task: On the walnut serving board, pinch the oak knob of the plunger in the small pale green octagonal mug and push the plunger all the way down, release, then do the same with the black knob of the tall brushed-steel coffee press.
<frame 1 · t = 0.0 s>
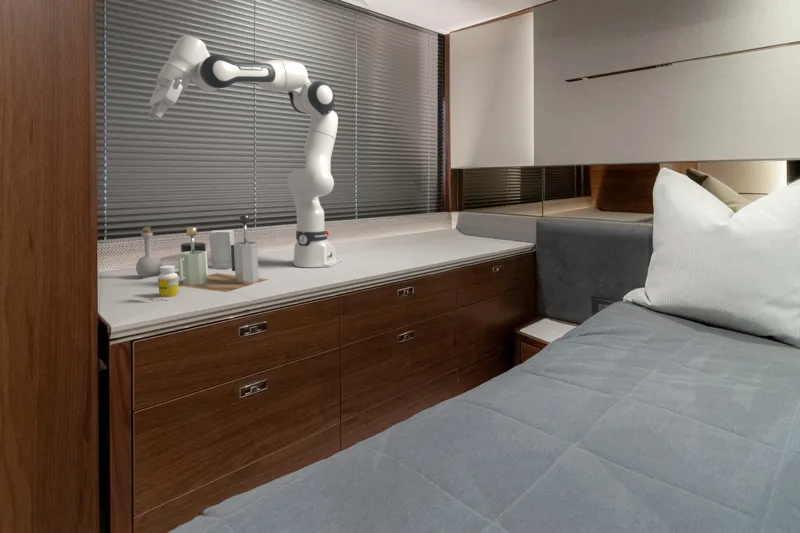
hand: (154, 117, 160), 54 cm above the cabinet, tool tilted 30°, fingers open, 8 cm apart
steel plunger: (245, 232, 164), point 18 cm above the cabinet, slide at 0.0 cm
steel press: (247, 281, 167), resting on serving board
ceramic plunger: (192, 243, 161), point 14 cm above the cabinet, slide at 0.0 cm
potion bottle: (150, 277, 177), on the cabinet
skincare box: (224, 268, 196), on the cabinet
serving board: (221, 285, 165), on the cabinet
pale green octagonal mug: (195, 282, 164), resting on serving board
supplement bottle: (169, 299, 147), on the cabinet
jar: (195, 277, 178), on the cabinet
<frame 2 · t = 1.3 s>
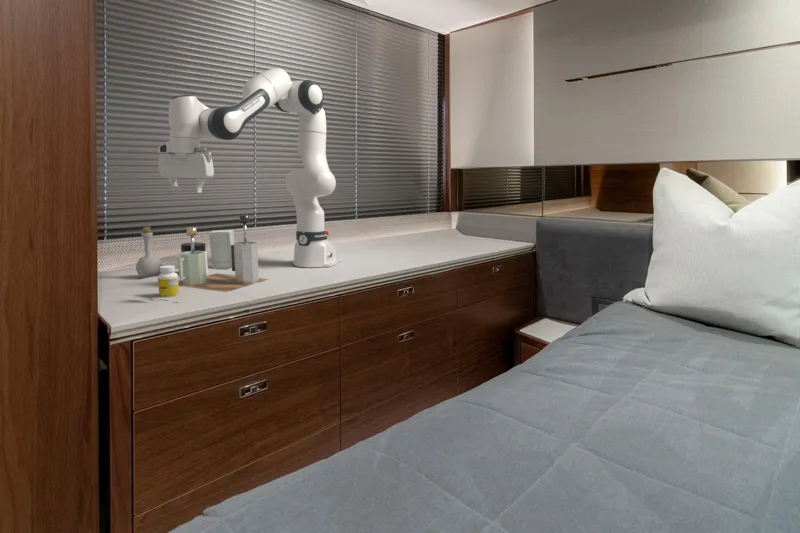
hand: (187, 192, 158), 31 cm above the cabinet, tool pointing down, fingers open, 8 cm apart
nothing on the cabinet moved.
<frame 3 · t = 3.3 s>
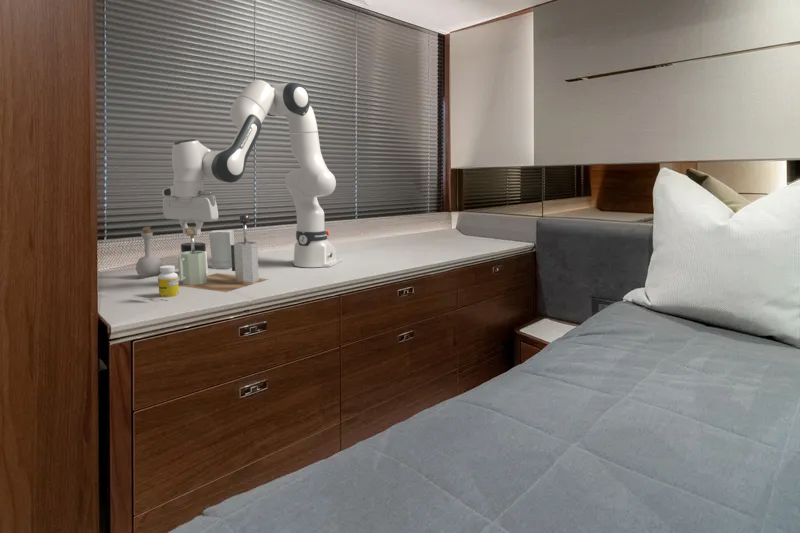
hand: (192, 234, 161), 17 cm above the cabinet, tool pointing down, fingers closed on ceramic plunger, 3 cm apart
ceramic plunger: (192, 243, 161), point 14 cm above the cabinet, slide at 0.0 cm, touching gripper
everything else where it was.
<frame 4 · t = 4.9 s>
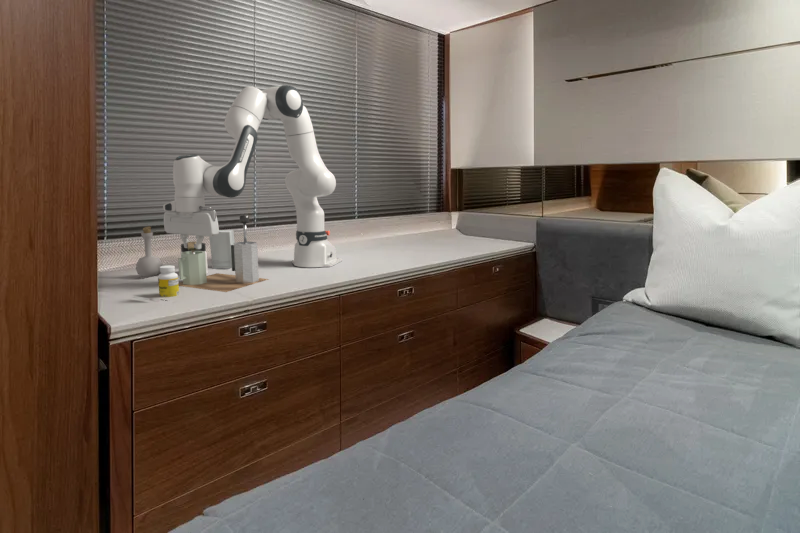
hand: (192, 248, 162), 13 cm above the cabinet, tool pointing down, fingers closed on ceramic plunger, 3 cm apart
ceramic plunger: (193, 257, 162), point 10 cm above the cabinet, slide at 4.7 cm, touching gripper
everything else where it was.
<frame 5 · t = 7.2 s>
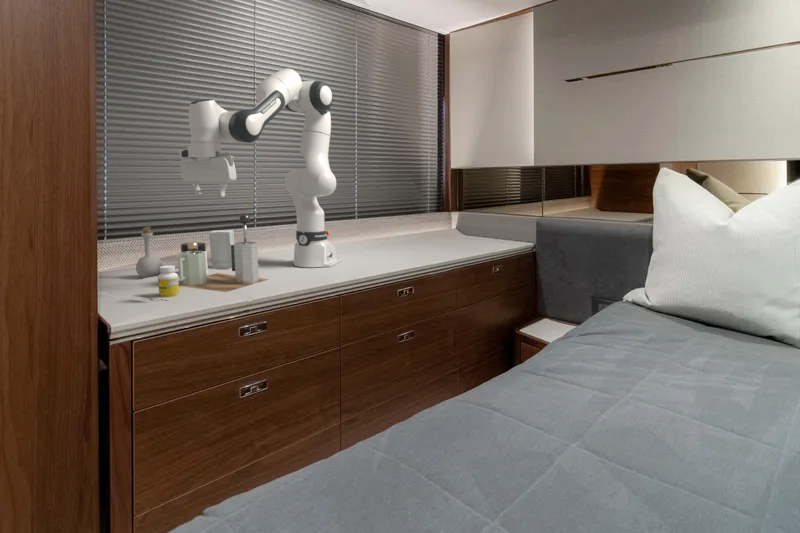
hand: (210, 196, 160), 30 cm above the cabinet, tool pointing down, fingers open, 8 cm apart
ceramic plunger: (193, 257, 162), point 10 cm above the cabinet, slide at 4.8 cm
everything else where it was.
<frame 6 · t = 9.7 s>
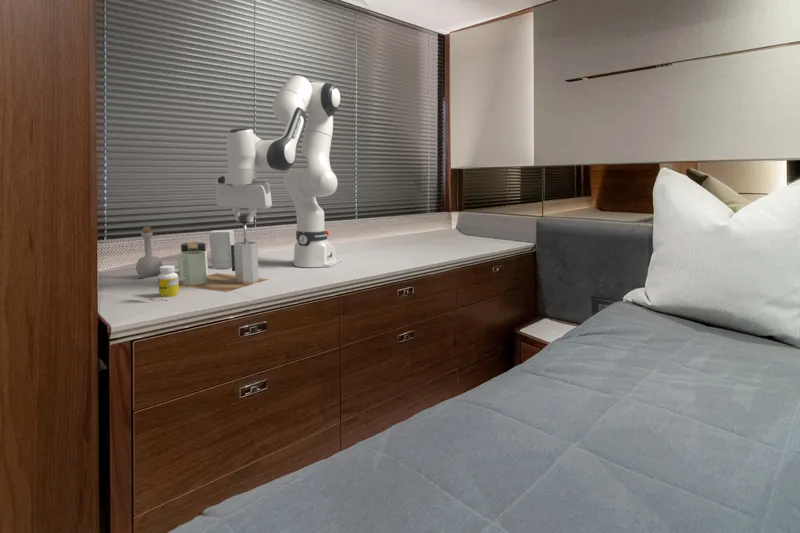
hand: (244, 221, 163), 21 cm above the cabinet, tool pointing down, fingers closed on steel plunger, 3 cm apart
steel plunger: (245, 232, 164), point 18 cm above the cabinet, slide at 0.0 cm, touching gripper
everything else where it was.
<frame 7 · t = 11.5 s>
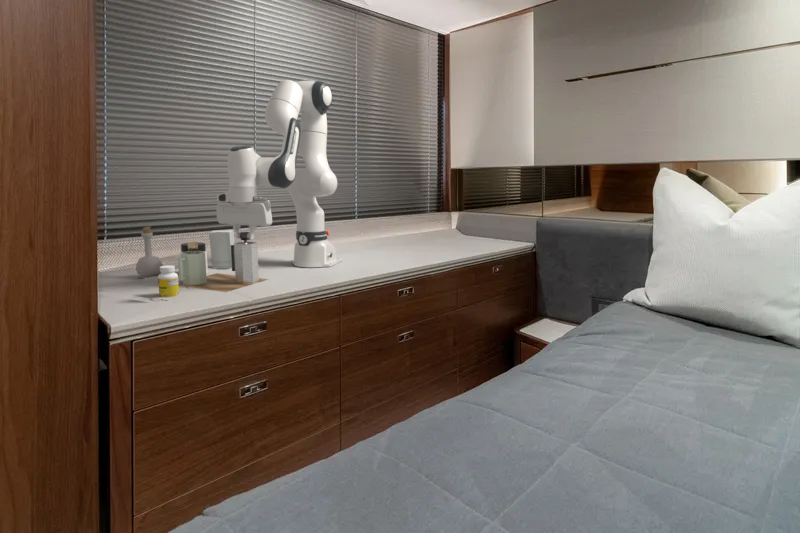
hand: (245, 238, 164), 16 cm above the cabinet, tool pointing down, fingers closed on steel plunger, 3 cm apart
steel plunger: (245, 248, 165), point 12 cm above the cabinet, slide at 5.6 cm, touching gripper
everything else where it was.
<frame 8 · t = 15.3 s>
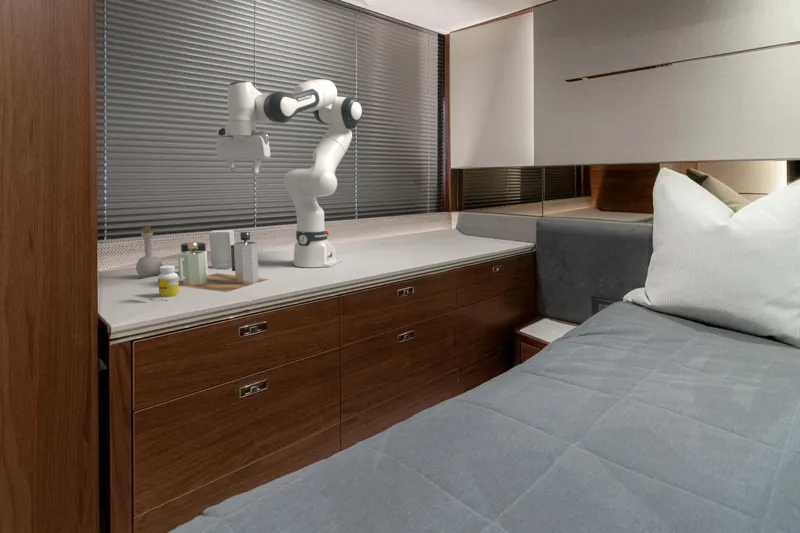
hand: (244, 172, 169), 37 cm above the cabinet, tool pointing down, fingers open, 8 cm apart
steel plunger: (245, 248, 165), point 12 cm above the cabinet, slide at 5.6 cm
everything else where it was.
at the end: steel plunger slide at 5.6 cm; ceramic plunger slide at 4.8 cm; the gripper is holding nothing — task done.
